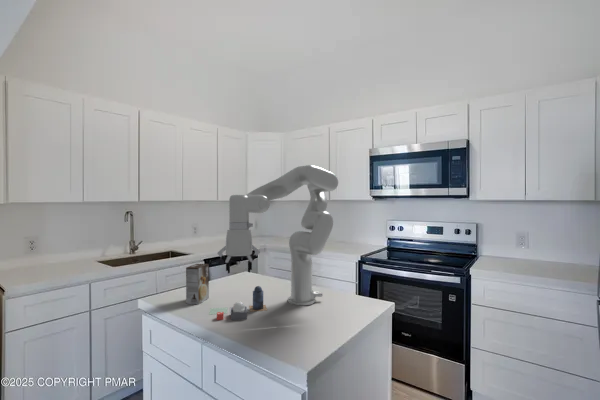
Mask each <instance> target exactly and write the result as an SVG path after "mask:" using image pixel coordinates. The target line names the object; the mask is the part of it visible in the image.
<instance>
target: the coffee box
mask: <svg viewBox="0 0 600 400" xmlns="http://www.w3.org/2000/svg"><path fill="white" fill-rule="evenodd" d="M209 267H210V265H209V263H195V264H192V265H190V266H188V267H186V268H185V286H186V287H185V288H186V289H185V301H186V302H185V303H186V304H188V305H189V304H190V305H200V304H202V303H203V302H205V301H206V300H208V299H209V298H210V295H209V294H210V288H209V287H210V285H209V284H210V283H209V281H210V279H209V278H210V277H209V274H210V273H209V272H210V271H209V270H210V268H209Z"/></svg>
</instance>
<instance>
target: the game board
mask: <svg viewBox="0 0 600 400" xmlns="http://www.w3.org/2000/svg"><path fill="white" fill-rule="evenodd" d="M244 306H245V312H234V313H233V306H230V307H216V308H215V307H213V308H209V313H208V315H209V316H210V315H216V321H223V320H224V318H225V317H224V314H228V309H229V314H230V321H239V320H240V321H241V320H247V319H248V307H249V312H250V313H253V312H264V311H265V312H267V311H268V307H267V305H266V304H263V309H261V310H254V309H253V305H249V306H248V305H244Z"/></svg>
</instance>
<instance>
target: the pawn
mask: <svg viewBox="0 0 600 400" xmlns="http://www.w3.org/2000/svg"><path fill="white" fill-rule="evenodd" d="M263 305H264V290H263V289H262V287H261V286H260V285H258V286H256V285H255V287H254V289H253V291H252V306H253V309H254V310H261V309H263Z"/></svg>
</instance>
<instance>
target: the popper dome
mask: <svg viewBox="0 0 600 400" xmlns="http://www.w3.org/2000/svg"><path fill="white" fill-rule="evenodd" d="M245 306H246V305H245V303H244V302H242V301H236V302H235V303H234V304H233V306H232V307H233V313H234V312H245Z"/></svg>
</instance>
